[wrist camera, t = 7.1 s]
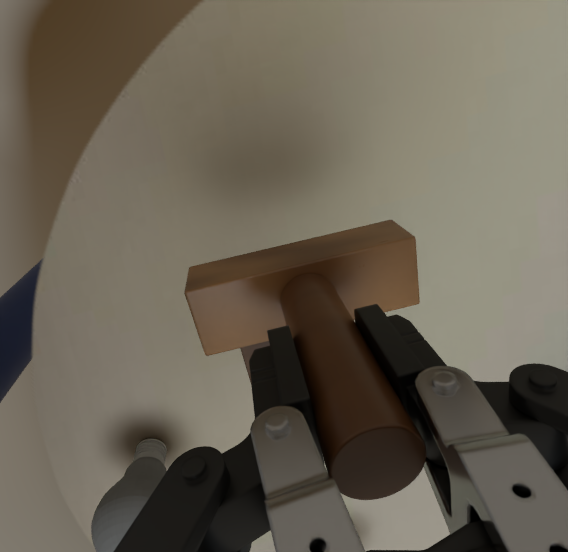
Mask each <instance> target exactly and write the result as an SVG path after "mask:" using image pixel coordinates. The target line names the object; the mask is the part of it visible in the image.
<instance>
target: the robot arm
mask: <svg viewBox="0 0 568 552" xmlns="http://www.w3.org/2000/svg"><path fill="white" fill-rule="evenodd" d="M354 317H355V324H356V325H357V327H358V329H359V330H360V332H361V334H362V336H363V337H364V339H365V341H366V342H367V344H368V346H369V348H370V349H371V351H372V353H373V354H374V356H375V358H376V360H377V361H378V363H379V365H380V366H381V368H382V370H383V372H384V373H385V375H386V377H387V378H388V380H389V382H390V384H391V385H392V387H393V389H394V390H395V392H396V394H397V396H398V397H399V399H400V401H401V402H402V404H403V406H404V407H405V409H406V411H407V413H408V414H409V416H410V418H411V419H412V421H413V423H414V425H415V426H416V428H417V430H418V431H419V433H420V435H421V437H422V438H423V440H424V442H425V445H426V460H425V464H424V466H423V467H424V469H425V472H426V474H427V477H428V479H429V482H430V484H431V487H432V489H433V491H434V494H435V496H436V499H437V501H438V504H439V506H440V509H441V511H442V514H443V516H444V519H445V521H446V524H447V526H448V529H449V532H450V535H449V536H447V537H446V538H444V539H442V540H441V541H439V542H438V543H436V544H434V545H433V546H431V547H430V548H428V549H425V550H420V551H408V550H370V551H366V552H568V372H566V371H564V370H561V369H558V368H556V367H553V366H549V365H544V364H526V365H522V366H519V367H517V368H515V369H514V370H513V371H512V372H511V374H510V377H509V382H478V381H473V380H472V378H471V377H470V376H469V375H468V374H467V373H465V372H464V371H462V370H460V369H457V368H454V367H450V366H447V365H446V364H445V363H444V362H443V361H442V359H441V358H440V357H439V356H438V354H437V353H436V352H435V351H434V350H433V348H432V347H431V346H430V345H429V344H428V342H427V341H426V340H424V338H423V336H422V335H421V334H420V333H419V332H418V330H417V329H416V328H415V327H414V326H413V324H412V323H411V322H410V321H409V320H407V319H405V318H403V317H401V316H399V315H393V316H389V317H387V316H386V315H385V313H384V312H383V311H382V309H381V308H380V307H379V305H378V304H373V305H369V306H365V307H361V308H357V309H354ZM267 333H268V338H269V343H270V346H267V347H262V348H258V349H254V352H253V354H252V356H251V358H250V360H249V365H250V373H251V374H250V375H251V382H252V383H251V384H252V394H253V403H254V413H255V420H254V422H253V423H252V426H251V431H250V434H249V435H248V436H247V437H246V438H245V439H244V440H243V441H242V442H241V443H240V444H238V445H237V446H235V447H233V448H231V449H230V450H228V451H226V452H224V453H222V454H221V453H220V451H218V450H217V449H215V448H212V447H206V446H204V447H197V448H194V449H191V450H189V451H187V452H185V453H183V454H182V455H181V456H179V457H178V458H177V459H176V460H175V461H174V462H173V463H172V465H171V466H170V467H169V469H168V470H167V472H166V473H165V475H164V476H163V478H162V479H161V481H160V482H159V484H158V485H157V487H156V488H155V490H154V491H153V493H152V494H151V496H150V497H149V499H148V500H147V502H146V503H145V505H144V506H143V508H142V509H141V511H140V512H139V514H138V516H137V517H136V519H135V520H134V522H133V523H132V525H131V526H130V528H129V529H128V531H127V532H126V534H125V535H124V537H123V538H122V540H121V541H120V543H119V544H118V546H117V547H116V549H115V550H114V552H249V551H250V548H251V543H252V542H253V541H254V540H256V539H257V538H259V537H260V536H262V535H264V534H265V533H267V532H268V531H270V530H271V533H272V537H273V541H274V546H275V550H276V552H365V550H364V547H363V545H362V543H361V540H360V538H359V536H358V533H357V531H356V529H355V526H354V524H353V522H352V519H351V517H350V515H349V512H348V510H347V508H346V505H345V503H344V501H343V498H342V496H341V494H340V491H339V489H338V487H337V484H336V482H335V480H334V478H333V477H332V476H329V475H328V473H327V470H326V468H325V466H324V459H323V455H322V450H321V447H320V443H319V440H318V436H317V433H316V423H315V418H314V413H313V409H312V404H311V400H310V396H309V392H308V389H307V386H306V382H305V379H304V375H303V372H302V369H301V365H300V362H299V358H298V355H297V352H296V348H295V345H294V341H293V338H292V334H291V331H290V328H289V325H287V326H283V327H279V328H275V329H271V330H267Z"/></svg>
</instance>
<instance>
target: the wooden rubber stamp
mask: <svg viewBox="0 0 568 552" xmlns="http://www.w3.org/2000/svg"><path fill="white" fill-rule="evenodd" d="M185 296H186V299H187V302H188V305H189V308H190V311H191V314H192V317H193V320H194V323H195V326H196V329H197V332H198V335H199V338H200V341H201V344H202V347H203V349H204V352H205V355H206V356H209V355H213V354H217V353H221V352H225V351H229V350H233V349H237V348H241V347H245V346H249V345H253V344H257V343H262V342H266V341H269V338H268V333H267V330H271V329H275V328H279V327H283V326H287V325H289V328H290V331H291V334H292V338H293V341H294V345H295V348H296V352H297V355H298V358H299V362H300V365H301V369H302V372H303V375H304V379H305V382H306V386H307V389H308V392H309V396H310V400H311V404H312V409H313V413H314V418H315V423H316V433H317V436H318V440H319V443H320V447H321V450H322V454H323V458H324V461H325V465H326V468H327V472H328V475H329V476H332V477H333V478H334V480H335V482H336V484H337V487H338V489H339V491H340V493H342V494H344V495H346V496H348V497H351V498H354V499H359V500H373V499H379V498H383V497H387V496H390V495H392V494H394V493H396V492H398V491H400V490H402V489H403V488H405V487H406V486H408V485H409V484H410V483H411V482H412V481H413V480H415V478H416V477H417V476H418V475H419V473H420V472H421V470H422V468H423V466H424V464H425V460H426V445H425V442H424V440H423V438H422V437H421V435H420V433H419V431H418V430H417V428H416V426H415V425H414V423H413V421H412V419H411V418H410V416H409V414H408V413H407V411H406V409H405V407H404V406H403V404H402V402H401V401H400V399H399V397H398V396H397V394H396V392H395V390H394V389H393V387H392V385H391V384H390V382H389V380H388V378H387V377H386V375H385V373H384V372H383V370H382V368H381V366H380V365H379V363H378V361H377V360H376V358H375V356H374V354H373V353H372V351H371V349H370V348H369V346H368V344H367V342H366V341H365V339H364V337H363V336H362V334H361V332H360V330H359V329H358V327H357V325H356V324H355V322H354V320H355V317H354V309H357V308H361V307H365V306H369V305H373V304H378V305H379V307H380V308H381V309H382V311H383V312H388V311H392V310H396V309H400V308H404V307H408V306H412V305H416V304H419V302H420V301H419V286H418V270H417V255H416V239H415V237H414V236H413V235H412V234H410V233H409V232H408V231H406V230H405V229H404V228H402V227H401V226H400V225H398V224H397V223H395V222H394V221H393V220H387V221H383V222H379V223H374V224H370V225H366V226H362V227H358V228H353V229H349V230H345V231H341V232H336V233H332V234H328V235H324V236H319V237H315V238H311V239H307V240H302V241H298V242H294V243H290V244H285V245H281V246H277V247H273V248H268V249H264V250H260V251H256V252H251V253H247V254H243V255H239V256H234V257H230V258H226V259H222V260H217V261H213V262H209V263H205V264H201V265H196V266H192V267H190V268H189V271H188V276H187V282H186V287H185Z"/></svg>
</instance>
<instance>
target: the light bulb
mask: <svg viewBox="0 0 568 552" xmlns="http://www.w3.org/2000/svg"><path fill="white" fill-rule="evenodd" d="M166 452H167V449H166V446H165V444H164V443H163V442H161V441H160V440H157V439H146V440H143V441H141V442H140V443H139V444H138V445H137V447H136V451H135V455H134V459H133V463H132V464H131V465H130V466H129V467H128V468H127V470H126V472H125V475H124V477H123V478H122V479H121V480H120V481H118V482H117V483H116V484H115V485H114V486H113V487H112V488H111V489H110V490H109V491H108V492H107V493H106V494H105V495H104V496H103V498H102V500H101V501H100V503H99V505H98V506H97V508H96V511H95V514H94V517H93V520H92V527H91V529H92V540H93V544H94V547H95V549H96V551H97V552H114V550H115V549H116V547H117V546H118V544H119V543H120V541H121V540H122V538H123V537H124V535H125V534H126V532H127V531H128V529H129V528H130V526H131V525H132V523H133V522H134V520H135V519H136V517H137V516H138V514H139V512H140V511H141V509H142V508H143V506H144V505H145V503H146V502H147V500H148V499H149V497H150V496H151V494H152V493H153V491H154V490H155V488H156V487H157V485H158V484H159V482H160V481H161V479H162V478H163V476H164V475H165V473H166V468H165V466H164V464H165V458H166Z"/></svg>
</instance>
